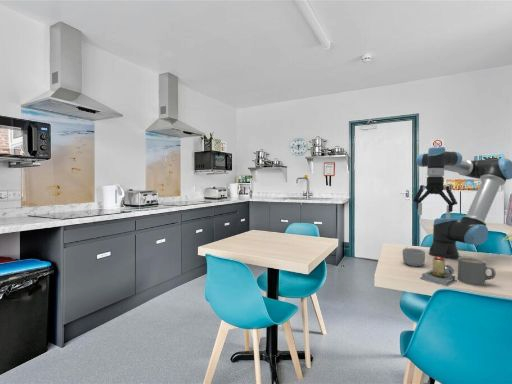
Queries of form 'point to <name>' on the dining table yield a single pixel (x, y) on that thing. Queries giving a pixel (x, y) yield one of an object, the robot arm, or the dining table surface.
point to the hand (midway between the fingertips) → (433, 216)
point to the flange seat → (447, 281)
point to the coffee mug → (473, 271)
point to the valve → (438, 267)
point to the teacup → (413, 256)
